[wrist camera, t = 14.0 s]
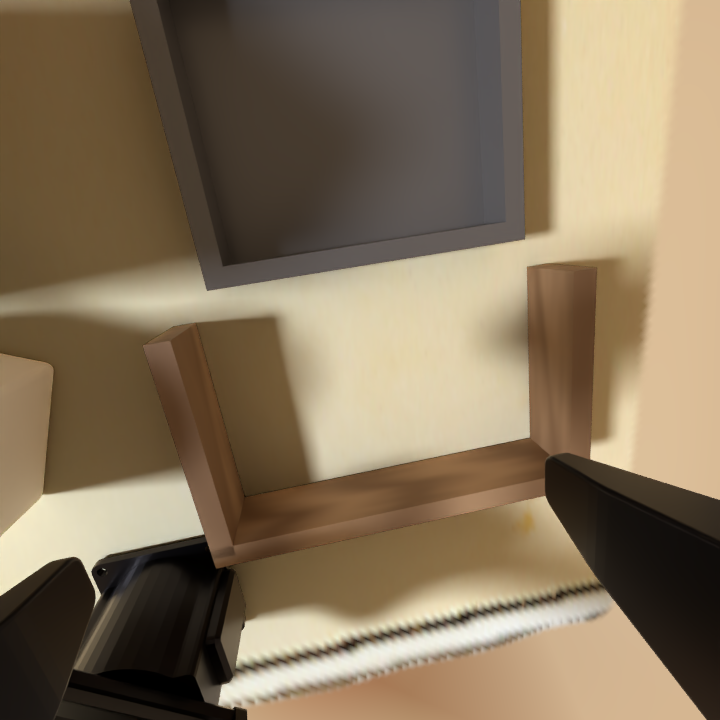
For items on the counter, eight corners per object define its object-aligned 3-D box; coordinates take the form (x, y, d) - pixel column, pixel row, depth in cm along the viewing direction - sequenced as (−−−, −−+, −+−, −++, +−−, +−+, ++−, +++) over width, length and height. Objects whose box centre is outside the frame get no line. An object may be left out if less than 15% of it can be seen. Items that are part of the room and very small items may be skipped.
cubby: (230, 516, 21) (216, 568, 17) (173, 326, 18) (142, 345, 14) (546, 449, 22) (589, 485, 19) (546, 263, 19) (597, 267, 16)
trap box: (220, 284, 17) (206, 290, 15) (143, -20, 14) (110, -73, 12) (496, 239, 18) (525, 239, 16) (484, -52, 15) (518, -107, 13)
